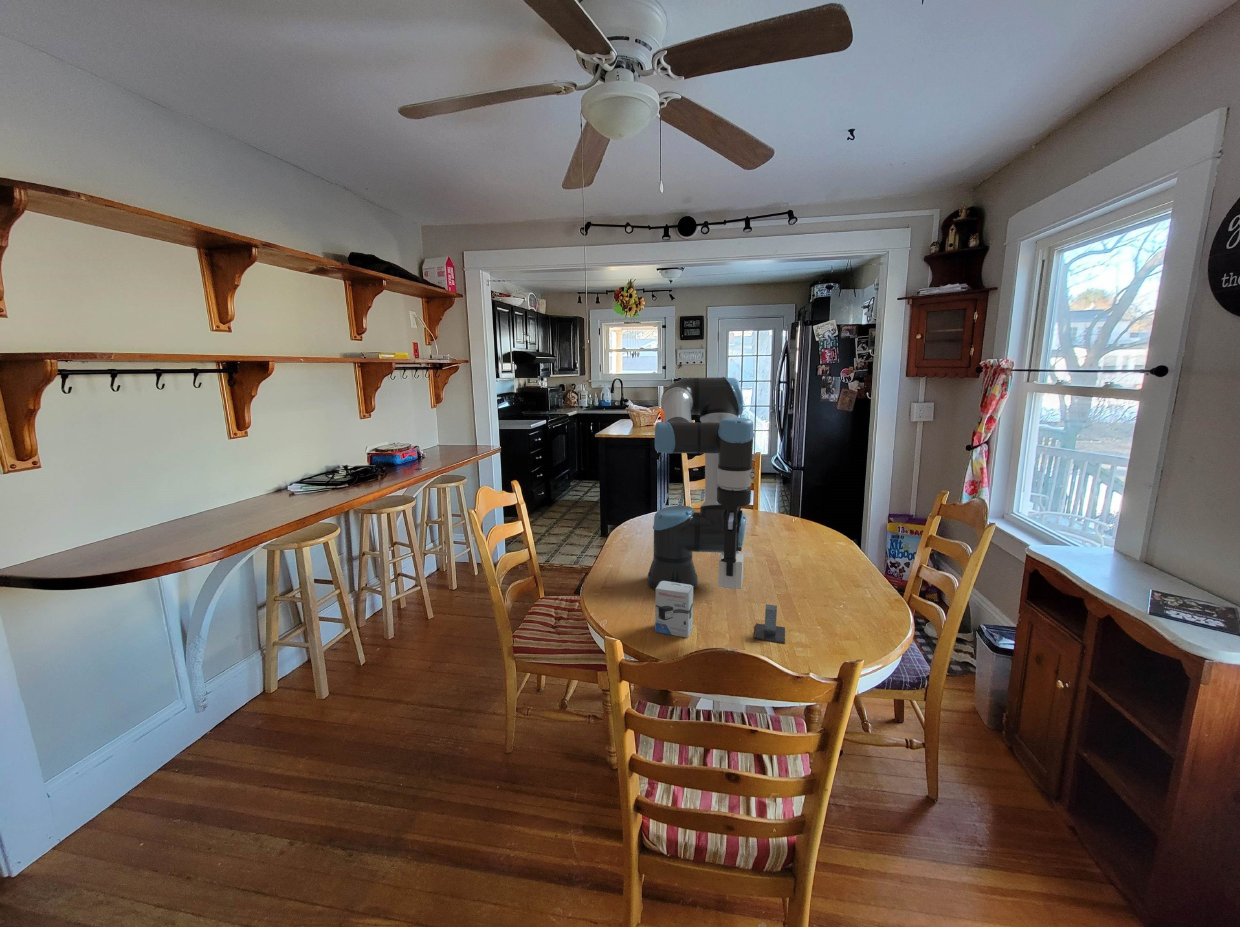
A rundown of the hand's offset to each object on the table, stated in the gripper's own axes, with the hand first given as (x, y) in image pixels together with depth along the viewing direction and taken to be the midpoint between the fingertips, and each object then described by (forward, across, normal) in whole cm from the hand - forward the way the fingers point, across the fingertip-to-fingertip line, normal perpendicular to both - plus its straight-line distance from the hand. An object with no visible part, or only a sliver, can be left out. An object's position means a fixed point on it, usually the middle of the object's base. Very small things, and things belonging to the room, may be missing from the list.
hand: (730, 582), depth 120 cm
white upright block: (0, 0, 0) cm, 0 cm away
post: (+14, +5, -10) cm, 18 cm away
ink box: (+15, 0, +13) cm, 20 cm away
